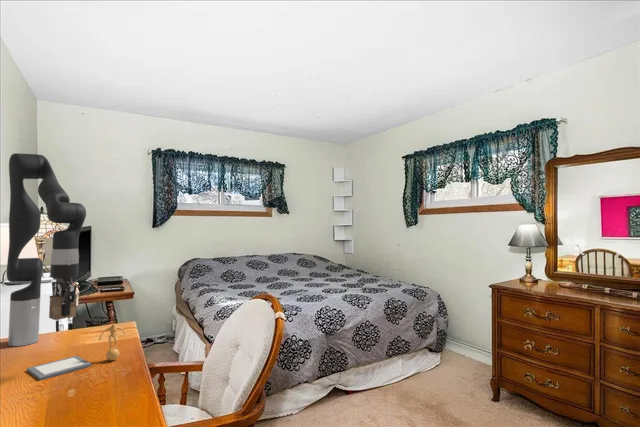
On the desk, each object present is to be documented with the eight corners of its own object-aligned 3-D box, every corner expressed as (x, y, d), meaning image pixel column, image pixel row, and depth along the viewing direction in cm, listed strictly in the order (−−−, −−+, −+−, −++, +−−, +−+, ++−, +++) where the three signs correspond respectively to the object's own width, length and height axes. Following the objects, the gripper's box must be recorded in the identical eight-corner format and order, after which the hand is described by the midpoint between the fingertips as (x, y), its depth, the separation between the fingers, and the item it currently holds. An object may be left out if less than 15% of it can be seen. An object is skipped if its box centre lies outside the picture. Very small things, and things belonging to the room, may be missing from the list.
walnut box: (48, 317, 116) (49, 295, 116) (70, 314, 121) (71, 293, 121) (54, 320, 113) (55, 297, 113) (76, 316, 118) (77, 294, 118)
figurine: (98, 364, 120) (100, 328, 120) (97, 359, 125) (99, 324, 125) (126, 359, 124) (128, 325, 125) (124, 354, 129) (125, 321, 130)
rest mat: (26, 370, 114) (27, 367, 114) (76, 357, 125) (76, 355, 125) (40, 380, 107) (40, 377, 107) (91, 366, 118) (91, 363, 118)
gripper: (43, 261, 119) (40, 313, 118) (60, 264, 110) (57, 320, 110) (69, 260, 125) (67, 309, 124) (86, 263, 116) (84, 315, 116)
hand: (62, 314), depth 117 cm, fingers closed on walnut box, 4 cm apart
